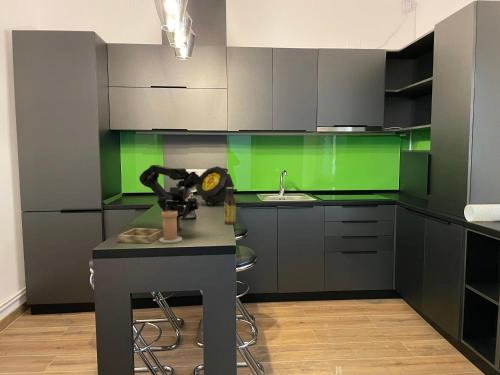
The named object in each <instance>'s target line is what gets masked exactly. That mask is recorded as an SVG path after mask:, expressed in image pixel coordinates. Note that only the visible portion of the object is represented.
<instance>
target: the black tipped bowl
mask: <svg viewBox="0 0 500 375" xmlns="http://www.w3.org/2000/svg"><path fill="white" fill-rule="evenodd" d="M228 171H229V169H228V168H226V167H224V168H223V167H220V166H217V165H216V166H213V167H210V168H207V169H205V170H204V172H202V173H201V174H200V175H198V176H199V177H200V178H201V183H200V184H199V185H197V186H195V190H196V194H197V195H199V196H201V199H202V200H203V201H204V202H205V205H206V206H208V207H211V206H213V205H218V204H222V203H224V201H225V198H226V194H227V191H226V188H228V187H232V188H234V191H233V193H235V192H238V189H237V188H236V189H235V185H234V182H233V179H232V176H231V174H229V173H228Z"/></svg>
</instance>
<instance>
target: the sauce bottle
mask: <svg viewBox="0 0 500 375" xmlns="http://www.w3.org/2000/svg"><path fill="white" fill-rule="evenodd" d="M234 189H235V187H234V188H232V187H228V188H226V191H227V194H226V198H225V201H224V202H223V204H224V206H223V210H224V212H223V213H224V216H223V219H224V223H225V224H226V225H234V224H236V215H237V214H236V210H237V209H236V208H237V206H236V205H237V204H236V198H235V197H234Z"/></svg>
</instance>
